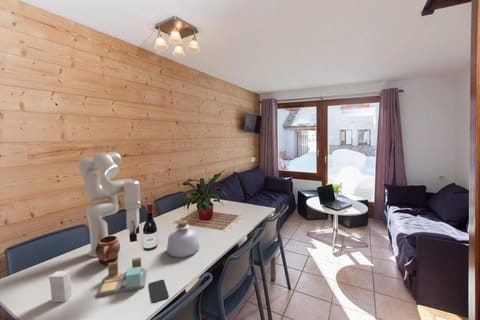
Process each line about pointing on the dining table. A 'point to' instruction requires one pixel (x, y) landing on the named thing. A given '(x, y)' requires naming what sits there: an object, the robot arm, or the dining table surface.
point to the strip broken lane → (112, 278)
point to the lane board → (118, 285)
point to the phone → (158, 291)
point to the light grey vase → (182, 241)
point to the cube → (133, 277)
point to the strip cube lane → (135, 264)
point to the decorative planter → (107, 249)
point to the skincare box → (60, 286)
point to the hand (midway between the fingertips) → (134, 237)
